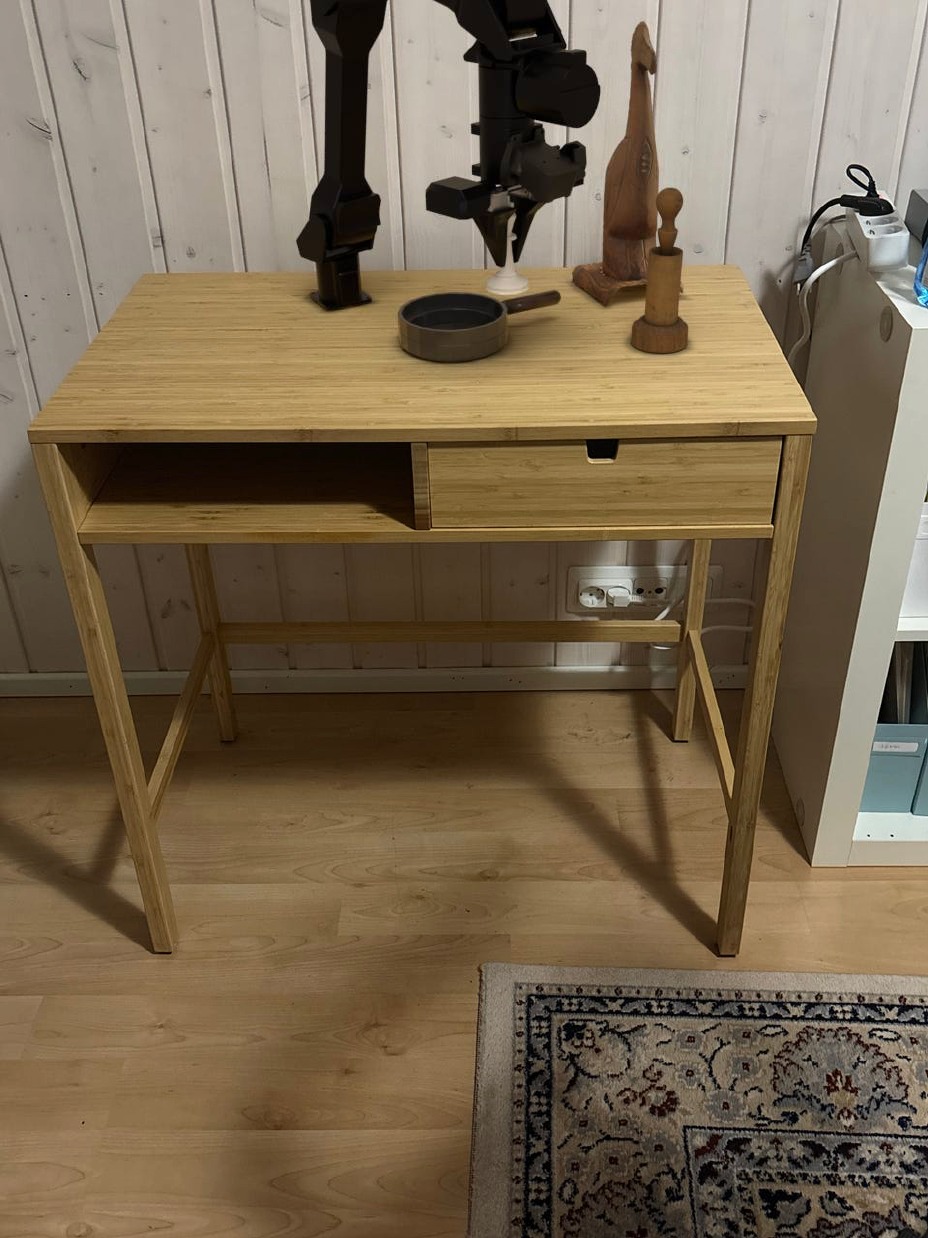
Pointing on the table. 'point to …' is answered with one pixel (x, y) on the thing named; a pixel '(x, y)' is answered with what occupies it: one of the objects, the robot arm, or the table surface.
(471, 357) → the pan
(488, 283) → the chess piece
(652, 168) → the bird sculpture
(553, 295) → the pan handle
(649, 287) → the mortar and pestle
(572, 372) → the table surface
